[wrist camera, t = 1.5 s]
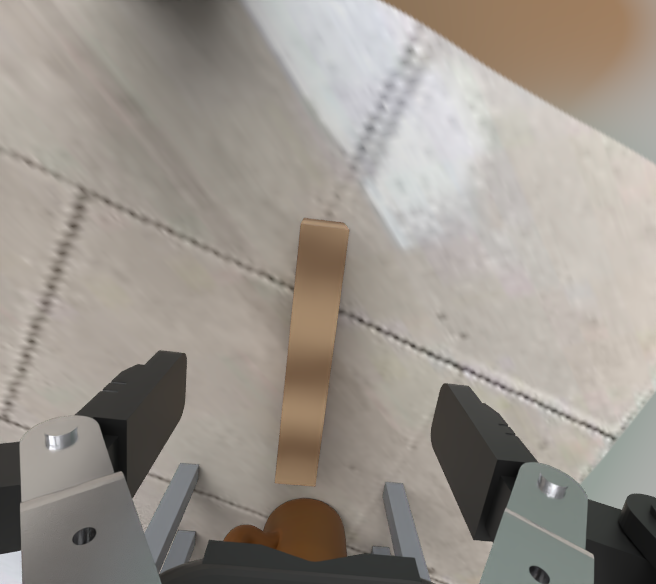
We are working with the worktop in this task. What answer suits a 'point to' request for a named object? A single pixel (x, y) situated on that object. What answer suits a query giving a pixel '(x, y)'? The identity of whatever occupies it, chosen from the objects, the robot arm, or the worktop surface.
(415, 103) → the worktop surface
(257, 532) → the mug
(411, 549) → the small grey table
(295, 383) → the batten
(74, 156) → the worktop surface
